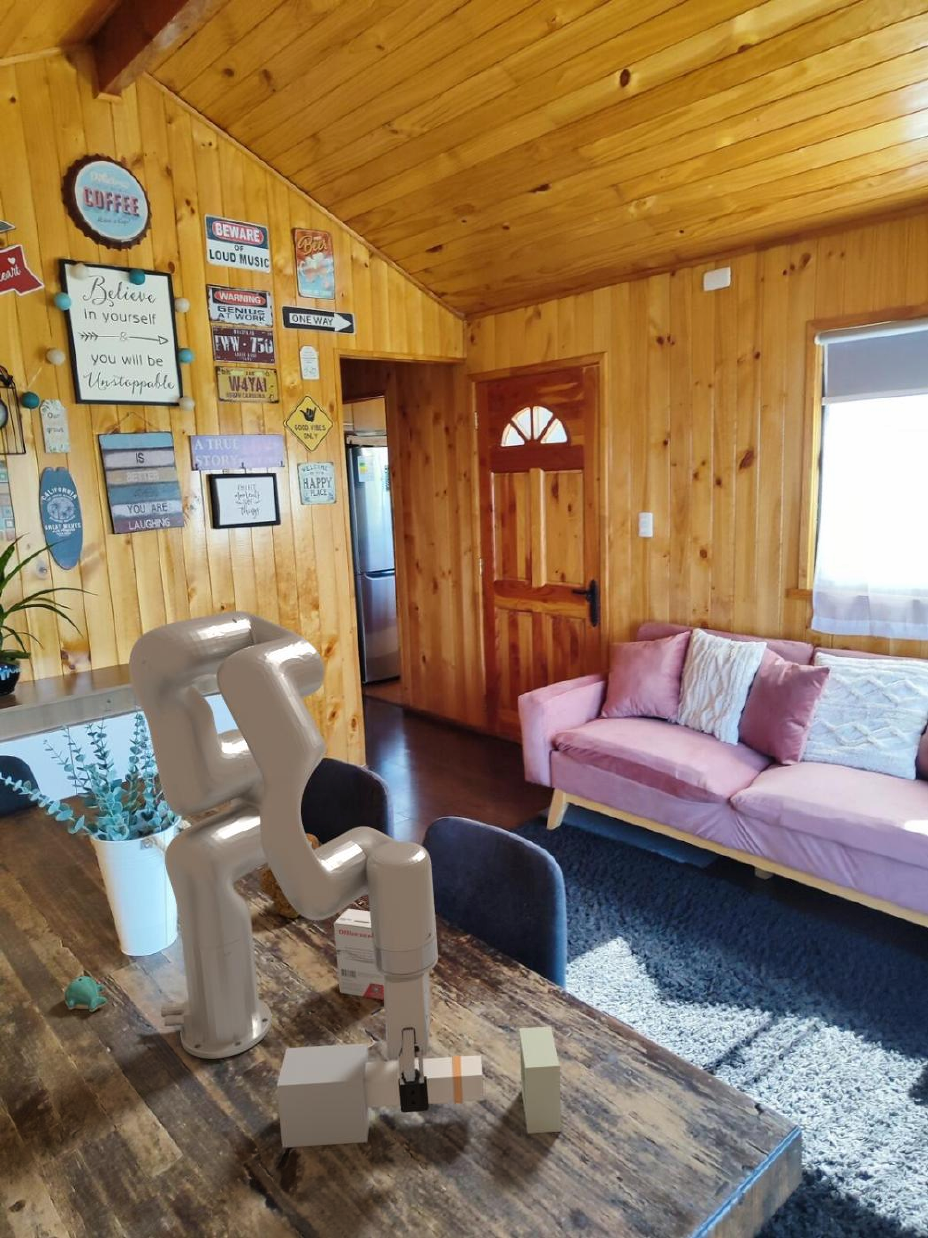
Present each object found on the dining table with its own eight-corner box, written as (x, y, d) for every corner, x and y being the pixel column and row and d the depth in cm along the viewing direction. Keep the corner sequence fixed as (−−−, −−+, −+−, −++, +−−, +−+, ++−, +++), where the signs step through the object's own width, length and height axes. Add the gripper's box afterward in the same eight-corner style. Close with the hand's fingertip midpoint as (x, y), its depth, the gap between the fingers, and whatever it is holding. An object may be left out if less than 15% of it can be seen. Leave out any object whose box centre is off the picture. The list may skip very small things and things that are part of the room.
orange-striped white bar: (282, 1114, 98) (280, 1087, 97) (287, 1092, 101) (285, 1066, 101) (483, 1101, 98) (482, 1075, 98) (481, 1080, 102) (480, 1054, 101)
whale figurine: (93, 987, 131) (90, 965, 130) (118, 1003, 126) (115, 981, 125) (57, 1006, 126) (54, 984, 125) (81, 1024, 122) (77, 1000, 121)
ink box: (402, 983, 128) (397, 913, 126) (389, 1002, 123) (384, 930, 121) (352, 974, 130) (347, 906, 129) (337, 993, 126) (332, 922, 124)
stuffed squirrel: (347, 896, 155) (342, 831, 153) (293, 932, 144) (287, 861, 142) (309, 884, 161) (304, 821, 159) (253, 917, 150) (247, 849, 147)
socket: (527, 1133, 97) (525, 1068, 96) (521, 1090, 104) (519, 1028, 103) (561, 1131, 97) (559, 1065, 96) (552, 1088, 104) (551, 1026, 103)
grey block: (282, 1147, 97) (276, 1086, 95) (291, 1107, 103) (286, 1048, 102) (367, 1142, 97) (362, 1080, 96) (371, 1102, 103) (367, 1043, 102)
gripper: (378, 914, 105) (389, 1036, 108) (367, 996, 88) (380, 1138, 91) (437, 909, 105) (446, 1031, 108) (437, 990, 88) (448, 1132, 91)
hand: (416, 1080), depth 99 cm, fingers open, 9 cm apart
